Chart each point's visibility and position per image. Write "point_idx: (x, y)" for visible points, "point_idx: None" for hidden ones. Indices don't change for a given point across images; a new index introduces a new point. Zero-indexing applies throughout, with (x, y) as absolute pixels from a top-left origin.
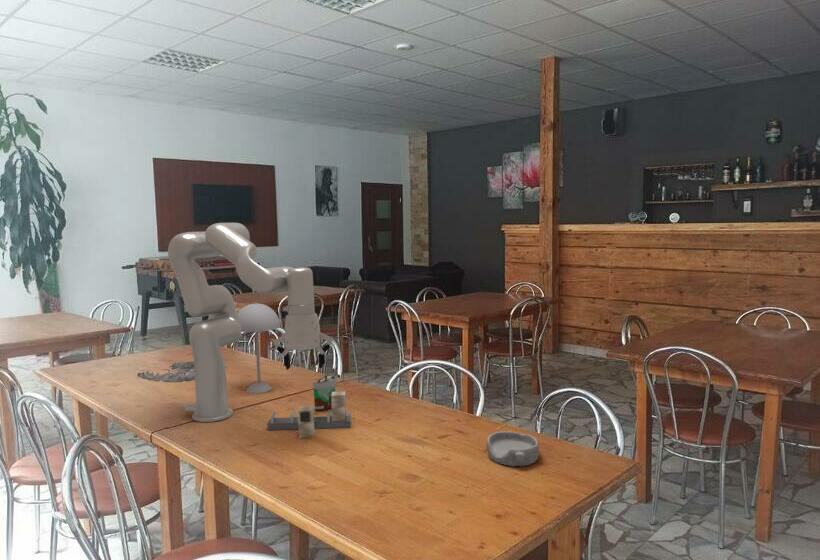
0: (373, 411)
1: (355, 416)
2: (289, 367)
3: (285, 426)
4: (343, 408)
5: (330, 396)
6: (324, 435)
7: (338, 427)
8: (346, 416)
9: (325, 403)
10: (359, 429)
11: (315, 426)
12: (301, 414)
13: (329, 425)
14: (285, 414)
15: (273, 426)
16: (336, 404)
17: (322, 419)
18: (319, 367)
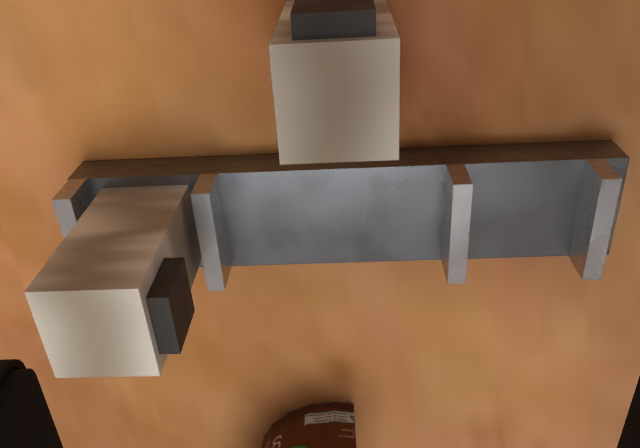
0: None
1: None
2: (634, 419)
3: (496, 152)
4: (80, 231)
5: (155, 296)
6: (213, 28)
7: (155, 159)
8: None
9: (294, 438)
10: (15, 129)
11: None
12: (362, 6)
13: (208, 163)
14: (512, 369)
15: (578, 151)
16: (120, 245)
17: (260, 216)
18: (25, 367)
